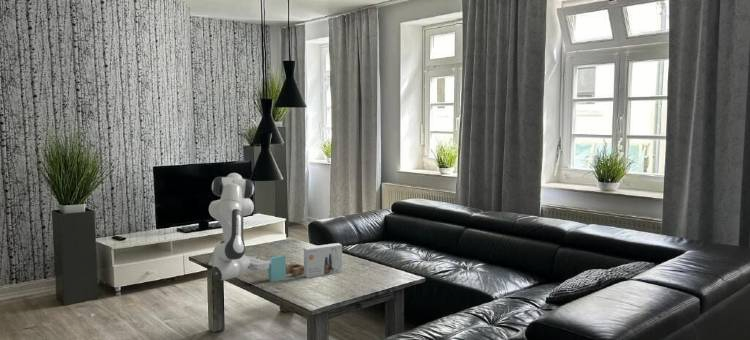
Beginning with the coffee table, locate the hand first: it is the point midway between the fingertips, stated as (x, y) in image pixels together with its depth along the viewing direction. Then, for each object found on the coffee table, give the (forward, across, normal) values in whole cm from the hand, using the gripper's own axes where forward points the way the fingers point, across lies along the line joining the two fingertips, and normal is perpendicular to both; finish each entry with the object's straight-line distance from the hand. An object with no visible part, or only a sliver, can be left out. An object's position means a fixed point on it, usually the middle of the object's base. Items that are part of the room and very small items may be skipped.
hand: (264, 259), depth 304 cm
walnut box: (+20, -1, +12) cm, 24 cm away
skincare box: (+28, -15, +12) cm, 34 cm away
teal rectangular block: (+8, -1, +12) cm, 14 cm away
